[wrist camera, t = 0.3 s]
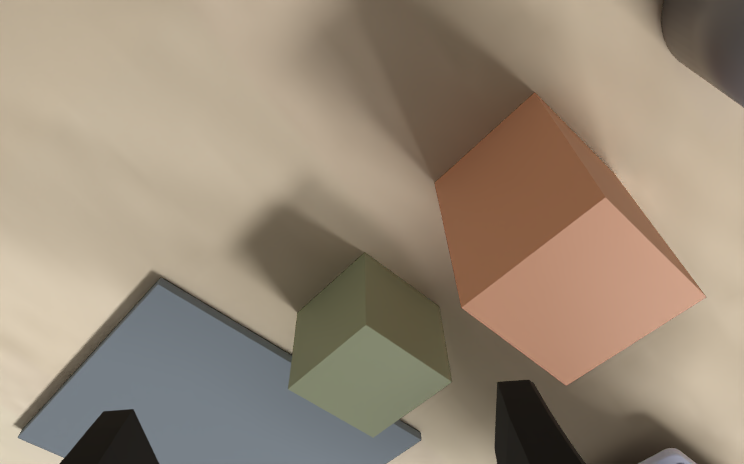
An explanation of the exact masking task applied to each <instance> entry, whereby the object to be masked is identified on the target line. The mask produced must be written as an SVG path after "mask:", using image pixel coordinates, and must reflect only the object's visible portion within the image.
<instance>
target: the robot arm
mask: <svg viewBox="0 0 744 464" xmlns="http://www.w3.org/2000/svg"><path fill="white" fill-rule="evenodd" d="M495 453H496V459H497V464H585V462H584V461H583V460H582V458H581V457H580V455H579V454H578V453H577V451H576V450H575V448H574V447H573V445H572V444H571V443H570V441H569V440H568V438H567V437H566V435H565V434H564V432H563V431H562V429H561V428H560V426H559V424H558V423H557V421H556V420H555V418H554V417H553V415H552V413H551V412H550V410H549V409H548V407H547V405H546V404H545V402H544V400H543V399H542V397H541V395H540V393H539V392H538V390H537V388H536V386H535V384H534V383H533V382H531V381H530V380H519V381H506V382H497V402H496V427H495ZM60 464H159V462H158V460H157V458H156V456H155V454H154V452H153V449H152V447H151V445H150V443H149V441H148V439H147V437H146V435H145V433H144V430H143V428H142V426H141V424H140V422H139V420H138V418H137V416H136V414H135V411H134V409H127V410H114V411H103V412H102V414H101V415H100V416H99V417H98V418H97V419H96V421H95V422H94V423H93V424H92V425H91V426H90V428H89V429H88V430H87V431H86V432H85V434H84V435H83V436H82V437H81V438H80V440H79V441H78V442H77V443H76V445H75V446H74V447H73V448H72V449H71V451H70V452H69V453H68V454H67V455H66V457H65V458H64V459H63V460H62V461H61V463H60ZM638 464H697V463H695V462H694V461H693V460H691V459H690V458H689V457H687V456H686V455H685V454H684V453H682V452H681V451H680V450H678V449H676V448H667V449H664V450H662V451H660V452H659V453H657V454H655V455H653V456H651V457H649V458H647V459H646V460H644V461H642V462H640V463H638Z"/></svg>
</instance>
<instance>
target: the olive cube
mask: <svg viewBox="0 0 744 464" xmlns="http://www.w3.org/2000/svg"><path fill="white" fill-rule="evenodd" d="M451 382H452V379H451V373H450V367H449V361H448V356H447V350H446V344H445V338H444V332H443V326H442V320H441V315H440V309H439V306H438V305H436V304H435V303H434V302H432V301H431V300H429V299H428V298H427V297H425V296H424V295H423V294H421V293H420V292H418V291H417V290H416V289H414V288H413V287H412V286H410V285H409V284H407V283H406V282H405V281H403V280H402V279H401V278H399V277H398V276H396V275H395V274H394V273H392V272H391V271H390V270H388V269H387V268H386V267H384V266H383V265H381V264H380V263H379V262H377V261H376V260H375V259H373V258H372V257H370V256H369V255H368V254H366V253H364V254H363V255H361V256H360V257H359V258H358V259H357V260H356V261H355V262H354V263H353V264H351V265H350V266H349V267H348V268H347V269H346V270H345V271H344V272H343V273H341V274H340V275H339V276H338V277H337V278H336V279H335V280H334V281H332V282H331V283H330V284H329V285H328V286H327V287H326V288H325V289H324V290H322V291H321V292H320V293H319V294H318V295H317V296H316V297H315V298H314V299H312V300H311V301H310V302H309V303H308V304H307V305H306V306H305V307H304V308H302V309H301V310H300V311H299V312H298V313H297V321H296V329H295V337H294V345H293V353H292V361H291V369H290V377H289V385H288V390H290V391H292V392H294V393H295V394H297V395H299V396H301V397H303V398H304V399H306V400H308V401H310V402H311V403H313V404H315V405H317V406H318V407H320V408H322V409H324V410H325V411H327V412H329V413H331V414H332V415H334V416H336V417H338V418H339V419H341V420H343V421H345V422H346V423H348V424H350V425H352V426H353V427H355V428H357V429H359V430H361V431H362V432H364V433H366V434H368V435H369V436H371V437H373V438H374V437H375V436H376V435H378V434H379V433H381V432H382V431H383V430H385V429H386V428H388V427H389V426H391V425H392V424H393V423H395V422H396V421H398V420H399V419H400V418H402V417H403V416H405V415H406V414H408V413H409V412H410V411H412V410H413V409H415V408H416V407H417V406H419V405H420V404H422V403H423V402H425V401H426V400H427V399H429V398H430V397H432V396H433V395H434V394H436V393H437V392H439V391H440V390H441V389H443V388H444V387H446V386H447V385H449V384H450V383H451Z"/></svg>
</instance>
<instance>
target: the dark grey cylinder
mask: <svg viewBox="0 0 744 464" xmlns="http://www.w3.org/2000/svg"><path fill="white" fill-rule="evenodd" d="M661 23H662V32H663V36H664V40H665V42H666V45H667V47H668V49H669V50H670V52H671V53H672V55H673V56H674V57H675V58H676V59H677V60H678V61H679V62H681V63H682V64H683V65H685V66H686V67H688V68H689V69H690V70H692V71H693V72H695V73H696V74H697V75H699V76H700V77H702V78H703V79H704V80H706V81H707V82H709V83H710V84H711V85H713V86H714V87H716V88H717V89H718V90H720V91H721V92H723V93H724V94H726V95H727V96H728V97H730V98H731V99H733V100H734V101H735V102H737V103H738V104H740V105H741V106H742V107H744V0H664V2H663V8H662V21H661Z"/></svg>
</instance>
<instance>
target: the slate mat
mask: <svg viewBox="0 0 744 464" xmlns="http://www.w3.org/2000/svg"><path fill="white" fill-rule="evenodd" d="M291 361H292V356H291V355H290V354H288V353H286V352H285V351H283V350H281V349H280V348H278V347H276V346H275V345H273V344H271V343H270V342H268V341H266V340H265V339H263V338H261V337H260V336H258V335H256V334H255V333H253V332H251V331H249V330H248V329H246V328H244V327H243V326H241V325H239V324H238V323H236V322H234V321H233V320H231V319H229V318H228V317H226V316H224V315H223V314H221V313H219V312H218V311H216V310H214V309H213V308H211V307H209V306H208V305H206V304H204V303H203V302H201V301H199V300H198V299H196V298H194V297H193V296H191V295H189V294H188V293H186V292H184V291H183V290H181V289H179V288H178V287H176V286H174V285H173V284H171V283H169V282H168V281H166V280H164V279H163V278H160V279H159V280H158V281H157V282H156V283H155V285H154V286H153V287H152V288H151V289H150V290H149V291H148V292H147V293H146V294H145V296H144V297H143V298H142V299H141V300H140V301H139V302H138V303H137V304H136V305H135V307H134V308H133V309H132V310H131V311H130V312H129V313H128V314H127V315H126V316H125V318H124V319H123V320H122V321H121V322H120V323H119V324H118V325H117V326H116V327H115V328H114V330H113V331H112V332H111V333H110V334H109V335H108V336H107V337H106V338H105V339H104V341H103V342H102V343H101V344H100V345H99V346H98V347H97V348H96V349H95V350H94V352H93V353H92V354H91V355H90V356H89V357H88V358H87V359H86V360H85V361H84V363H83V364H82V365H81V366H80V367H79V368H78V369H77V370H76V371H75V372H74V373H73V375H72V376H71V377H70V378H69V379H68V380H67V381H66V382H65V383H64V384H63V386H62V387H61V388H60V389H59V390H58V391H57V392H56V393H55V394H54V395H53V397H52V398H51V399H50V400H49V401H48V402H47V403H46V404H45V405H44V406H43V408H42V409H41V410H40V411H39V412H38V413H37V414H36V415H35V416H34V417H33V418H32V420H31V421H30V422H29V423H28V424H27V425H26V426H25V427H24V428H23V429H22V431H21V432H20V434H19V436H18V438H19V439H22V440H24V441H26V442H28V443H31V444H33V445H35V446H38V447H40V448H42V449H45V450H47V451H49V452H52V453H54V454H56V455H59V456H61V457H63V458H65V457H66V455H67V454H68V453H69V452H70V451H71V449H72V448H73V447H74V446H75V445H76V443H77V442H78V441H79V440H80V438H81V437H82V436H83V435H84V434H85V432H86V431H87V430H88V429H89V428H90V426H91V425H92V424H93V423H94V422H95V421H96V419H97V418H98V417H99V416H100V415H101V414H102V412H103V411H114V410H127V409H134V411H135V414H136V416H137V418H138V420H139V422H140V424H141V426H142V428H143V430H144V433H145V435H146V437H147V439H148V441H149V443H150V445H151V447H152V449H153V452H154V454H155V456H156V458H157V460H158V462H159V464H386V463H388V462H389V461H391V460H392V459H394V458H395V457H397V456H398V455H400V454H401V453H403V452H404V451H406V450H407V449H409V448H410V447H412V446H413V445H415V444H416V443H418V442H419V441H421V433H420V432H418V431H417V430H415V429H413V428H412V427H410V426H408V425H407V424H405V423H403V422H402V421H400V420H398V421H396V422H395V423H393V424H392V425H391V426H389V427H388V428H386V429H385V430H383V431H382V432H381V433H379V434H378V435H376V436H375V437H374V438H373V437H371V436H369V435H368V434H366V433H364V432H362V431H361V430H359V429H357V428H355V427H353V426H352V425H350V424H348V423H346V422H345V421H343V420H341V419H339V418H338V417H336V416H334V415H332V414H331V413H329V412H327V411H325V410H324V409H322V408H320V407H318V406H317V405H315V404H313V403H311V402H310V401H308V400H306V399H304V398H303V397H301V396H299V395H297V394H295V393H294V392H292V391H290V390H288V385H289V377H290V369H291Z"/></svg>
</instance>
